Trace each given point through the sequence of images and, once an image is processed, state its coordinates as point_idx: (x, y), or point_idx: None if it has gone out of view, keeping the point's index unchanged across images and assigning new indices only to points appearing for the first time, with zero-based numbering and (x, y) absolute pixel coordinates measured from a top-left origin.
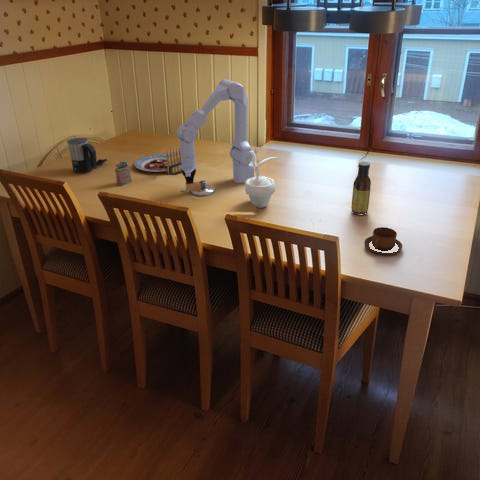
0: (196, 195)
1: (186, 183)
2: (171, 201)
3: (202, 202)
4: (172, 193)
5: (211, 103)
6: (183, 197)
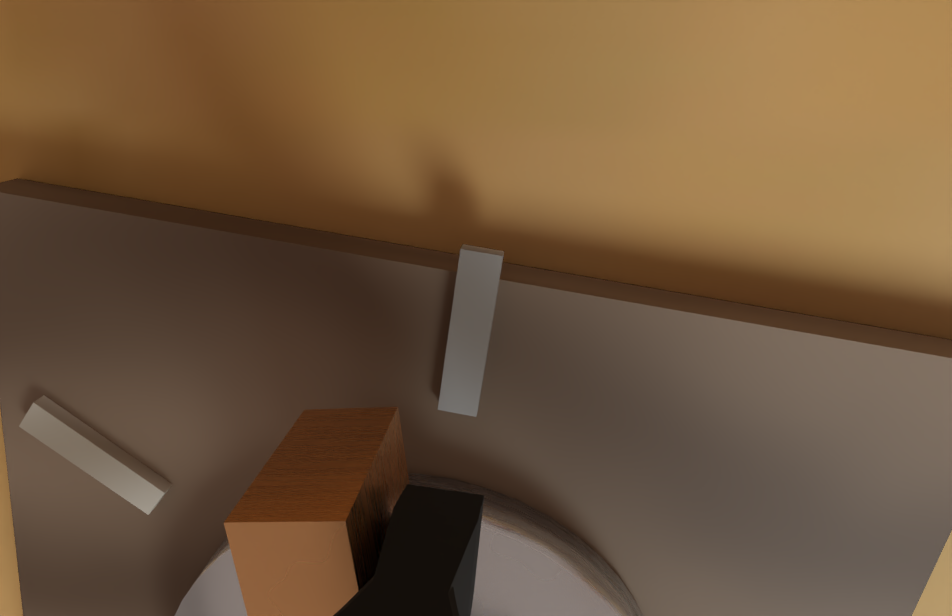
0: (217, 549)
1: (287, 547)
2: (75, 6)
3: None
4: (568, 35)
5: None
6: None
